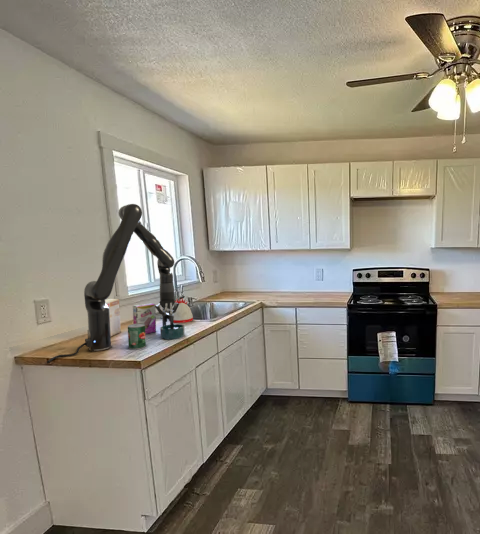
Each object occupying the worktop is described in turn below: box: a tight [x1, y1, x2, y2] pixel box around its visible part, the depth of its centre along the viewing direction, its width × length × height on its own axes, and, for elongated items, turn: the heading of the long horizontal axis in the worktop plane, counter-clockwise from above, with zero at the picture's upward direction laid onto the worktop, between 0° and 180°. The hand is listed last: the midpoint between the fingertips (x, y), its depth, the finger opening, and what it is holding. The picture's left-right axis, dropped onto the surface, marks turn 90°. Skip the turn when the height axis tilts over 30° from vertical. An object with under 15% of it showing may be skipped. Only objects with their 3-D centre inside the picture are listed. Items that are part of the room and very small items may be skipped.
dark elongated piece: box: [161, 312, 178, 329], centre depth 195 cm, size 16×5×9 cm, turn 43°
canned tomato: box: [127, 323, 147, 350], centre depth 172 cm, size 8×8×11 cm
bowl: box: [159, 323, 186, 340], centre depth 190 cm, size 12×13×6 cm
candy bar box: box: [132, 303, 157, 335], centre depth 197 cm, size 11×5×16 cm, turn 141°
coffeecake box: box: [105, 298, 122, 337], centre depth 193 cm, size 15×7×20 cm, turn 175°
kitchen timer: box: [172, 297, 194, 324], centre depth 229 cm, size 14×14×15 cm
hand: (167, 321), depth 197 cm, fingers closed on dark elongated piece
